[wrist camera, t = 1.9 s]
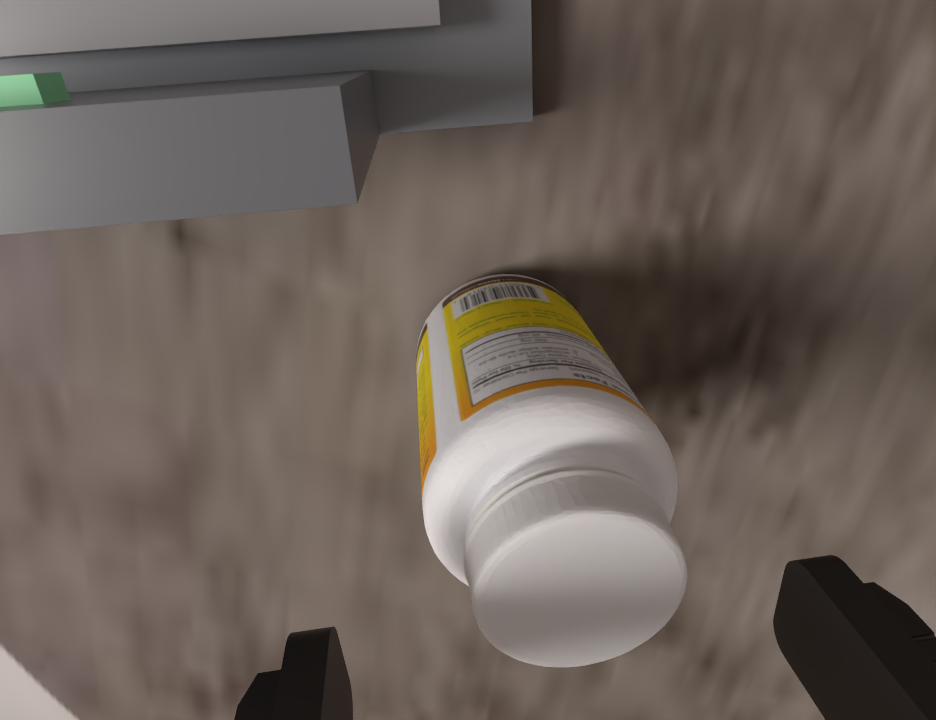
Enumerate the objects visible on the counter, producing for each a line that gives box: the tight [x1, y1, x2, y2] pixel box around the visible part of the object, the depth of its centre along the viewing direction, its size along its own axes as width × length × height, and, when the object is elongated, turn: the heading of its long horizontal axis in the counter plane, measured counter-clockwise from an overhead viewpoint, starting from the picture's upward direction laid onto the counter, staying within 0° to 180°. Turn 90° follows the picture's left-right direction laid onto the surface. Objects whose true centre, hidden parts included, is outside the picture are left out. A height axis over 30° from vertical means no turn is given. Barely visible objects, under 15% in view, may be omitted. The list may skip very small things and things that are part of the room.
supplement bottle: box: [416, 274, 687, 667], centre depth 15 cm, size 6×6×10 cm
